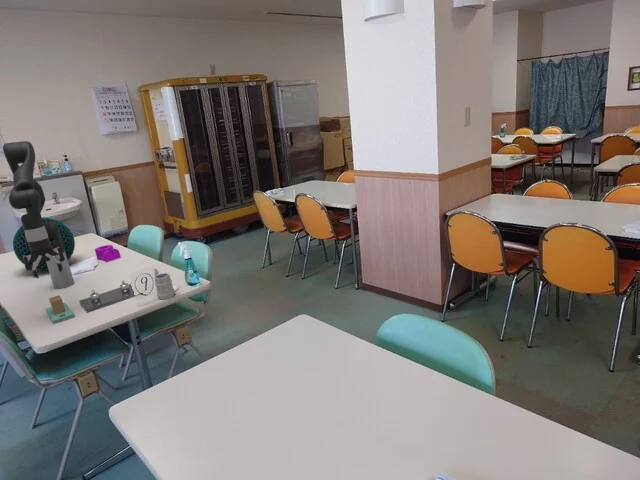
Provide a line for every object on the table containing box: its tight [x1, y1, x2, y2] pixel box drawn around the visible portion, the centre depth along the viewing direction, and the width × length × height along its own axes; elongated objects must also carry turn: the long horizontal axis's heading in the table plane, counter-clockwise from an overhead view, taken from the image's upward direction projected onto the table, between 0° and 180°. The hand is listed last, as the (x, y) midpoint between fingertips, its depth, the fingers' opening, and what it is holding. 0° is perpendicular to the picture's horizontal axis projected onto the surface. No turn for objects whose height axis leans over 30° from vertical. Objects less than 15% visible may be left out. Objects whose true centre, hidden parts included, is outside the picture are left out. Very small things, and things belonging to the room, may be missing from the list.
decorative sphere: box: [12, 217, 76, 271], centre depth 256 cm, size 30×30×30 cm
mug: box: [153, 267, 176, 300], centre depth 200 cm, size 8×12×12 cm, turn 43°
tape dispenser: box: [94, 244, 122, 263], centre depth 267 cm, size 16×10×6 cm, turn 46°
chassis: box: [78, 279, 136, 313], centre depth 204 cm, size 14×24×6 cm, turn 129°
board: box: [45, 295, 76, 325], centre depth 193 cm, size 18×8×8 cm, turn 39°
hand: (49, 274), depth 189 cm, fingers open, 8 cm apart
